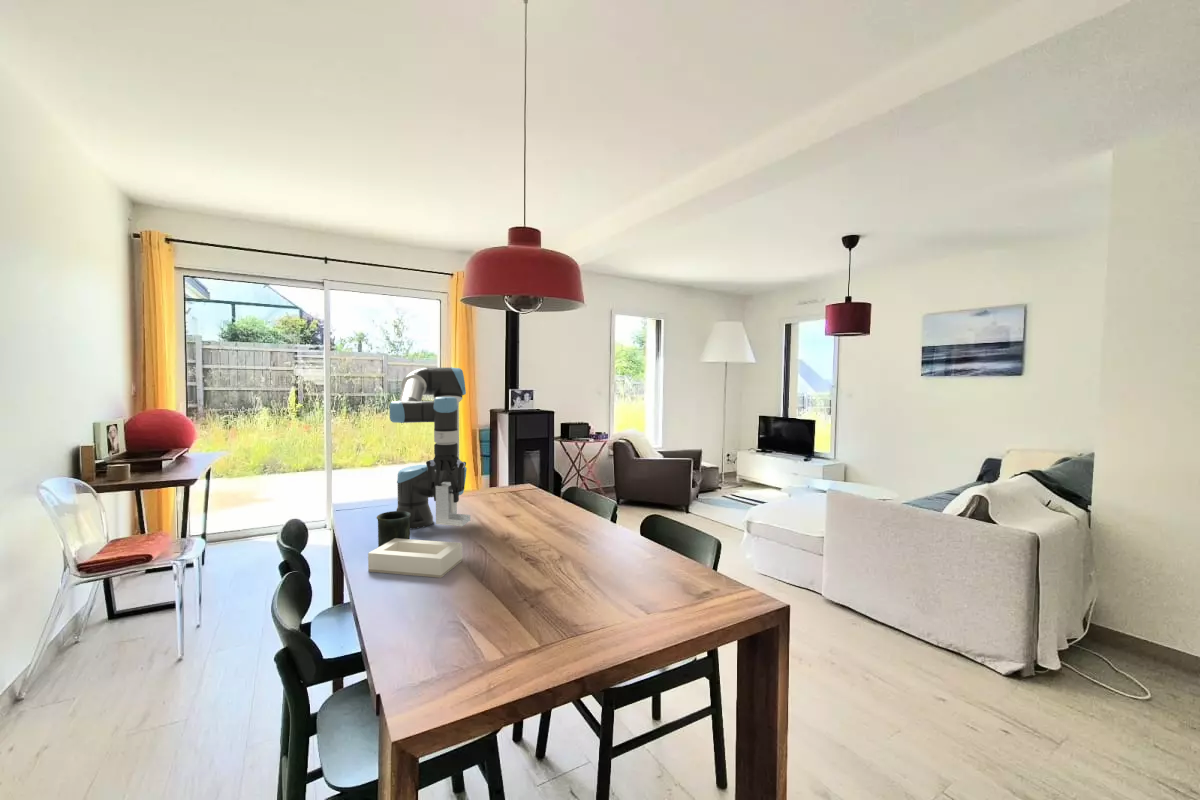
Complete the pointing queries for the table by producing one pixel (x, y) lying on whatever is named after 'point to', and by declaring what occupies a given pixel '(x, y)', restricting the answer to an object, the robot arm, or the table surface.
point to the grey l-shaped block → (447, 507)
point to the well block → (415, 557)
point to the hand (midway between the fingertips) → (446, 510)
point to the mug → (393, 526)
